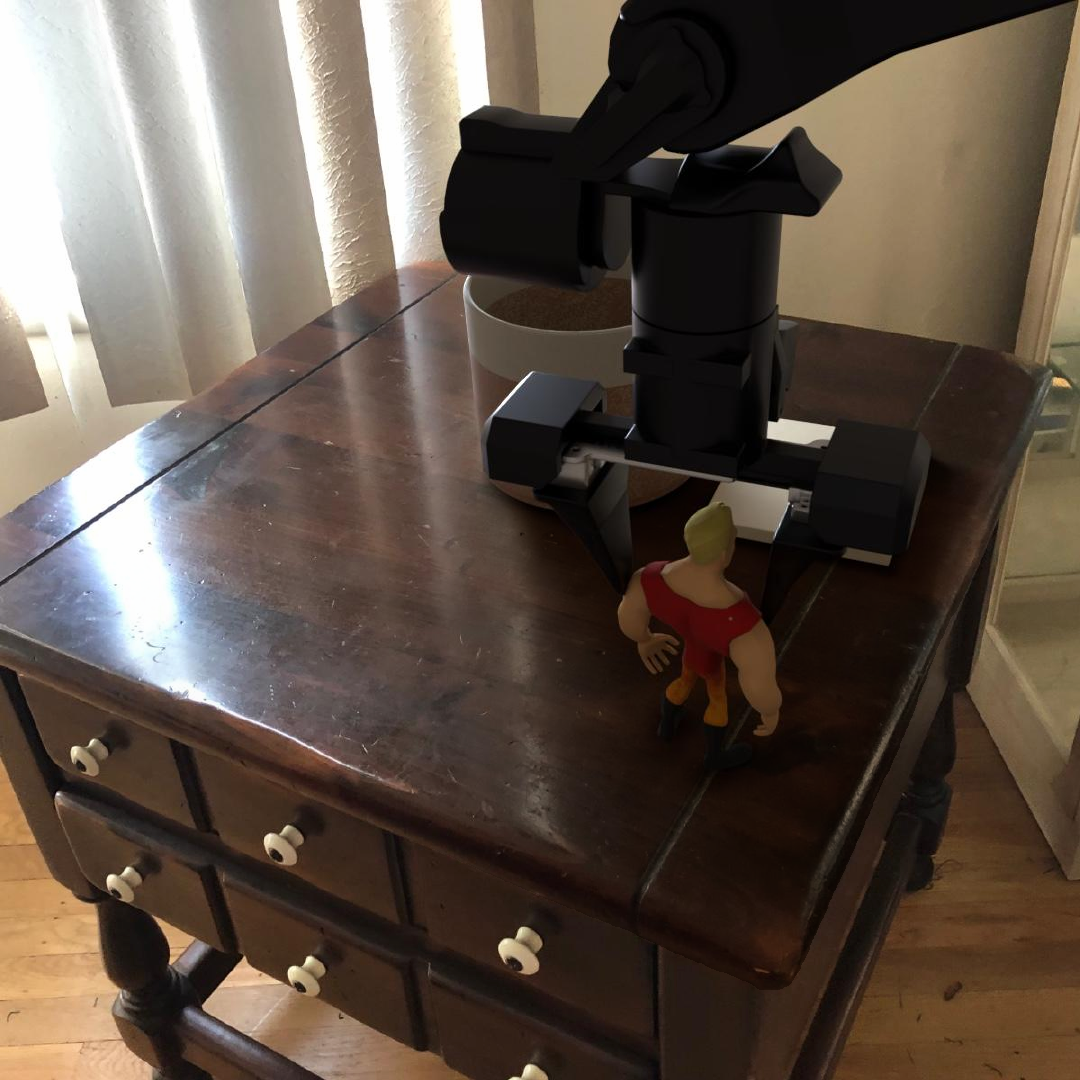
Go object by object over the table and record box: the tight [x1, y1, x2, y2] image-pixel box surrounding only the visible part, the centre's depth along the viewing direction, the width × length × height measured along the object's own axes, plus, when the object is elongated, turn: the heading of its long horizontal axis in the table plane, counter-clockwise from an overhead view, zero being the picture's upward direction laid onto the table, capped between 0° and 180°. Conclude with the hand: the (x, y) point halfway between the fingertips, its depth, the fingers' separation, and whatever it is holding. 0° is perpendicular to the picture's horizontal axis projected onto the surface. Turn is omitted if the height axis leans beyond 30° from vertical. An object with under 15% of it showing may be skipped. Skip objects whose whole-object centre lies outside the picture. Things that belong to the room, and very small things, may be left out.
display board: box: [707, 418, 893, 567], centre depth 78 cm, size 12×14×1 cm
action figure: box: [617, 501, 783, 772], centre depth 55 cm, size 9×4×15 cm, turn 46°
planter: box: [463, 249, 691, 511], centre depth 79 cm, size 16×16×14 cm
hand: (694, 605), depth 55 cm, fingers closed on action figure, 7 cm apart
